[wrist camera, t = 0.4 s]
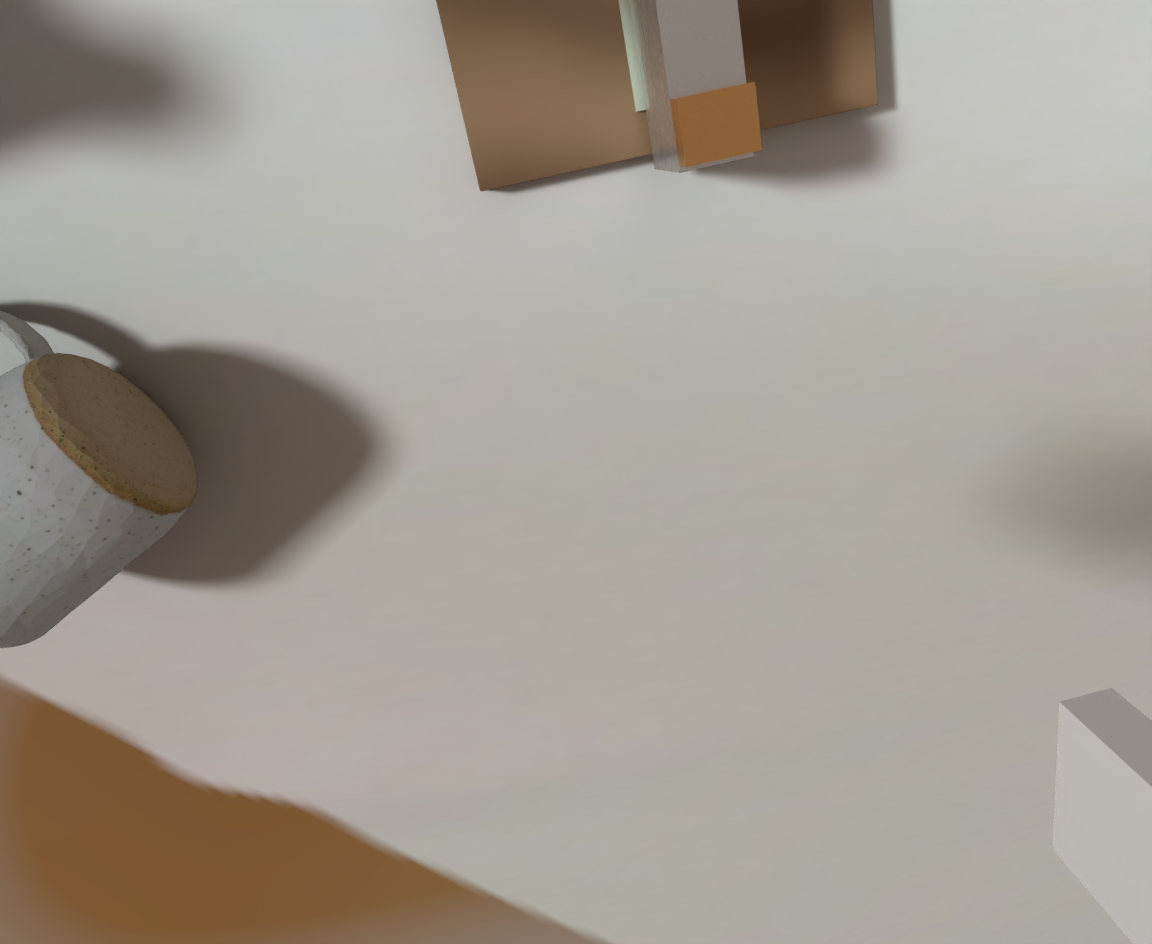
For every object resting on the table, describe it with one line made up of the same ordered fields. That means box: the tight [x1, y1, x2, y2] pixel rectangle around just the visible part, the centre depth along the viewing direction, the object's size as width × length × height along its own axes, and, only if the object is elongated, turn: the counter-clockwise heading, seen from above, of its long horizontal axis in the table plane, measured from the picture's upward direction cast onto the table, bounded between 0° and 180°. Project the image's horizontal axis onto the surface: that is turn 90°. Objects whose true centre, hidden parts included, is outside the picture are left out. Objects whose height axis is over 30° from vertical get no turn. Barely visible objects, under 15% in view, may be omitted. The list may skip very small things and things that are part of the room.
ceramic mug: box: [0, 310, 197, 648], centre depth 29 cm, size 11×8×8 cm
